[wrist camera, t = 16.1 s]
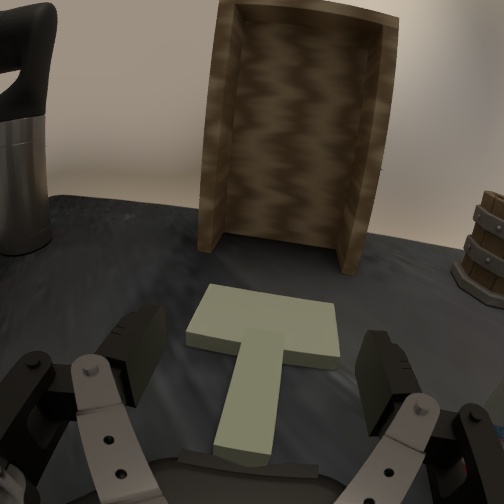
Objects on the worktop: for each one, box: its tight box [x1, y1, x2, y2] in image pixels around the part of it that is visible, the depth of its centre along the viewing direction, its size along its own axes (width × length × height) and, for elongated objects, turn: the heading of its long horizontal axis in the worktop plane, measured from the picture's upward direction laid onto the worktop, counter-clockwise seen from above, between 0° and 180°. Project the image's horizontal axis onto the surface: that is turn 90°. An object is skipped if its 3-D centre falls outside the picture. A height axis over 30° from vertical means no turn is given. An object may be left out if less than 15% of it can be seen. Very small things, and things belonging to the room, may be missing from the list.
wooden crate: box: [197, 0, 399, 276], centre depth 36 cm, size 20×9×32 cm, turn 82°
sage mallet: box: [186, 284, 340, 467], centre depth 22 cm, size 12×17×2 cm
